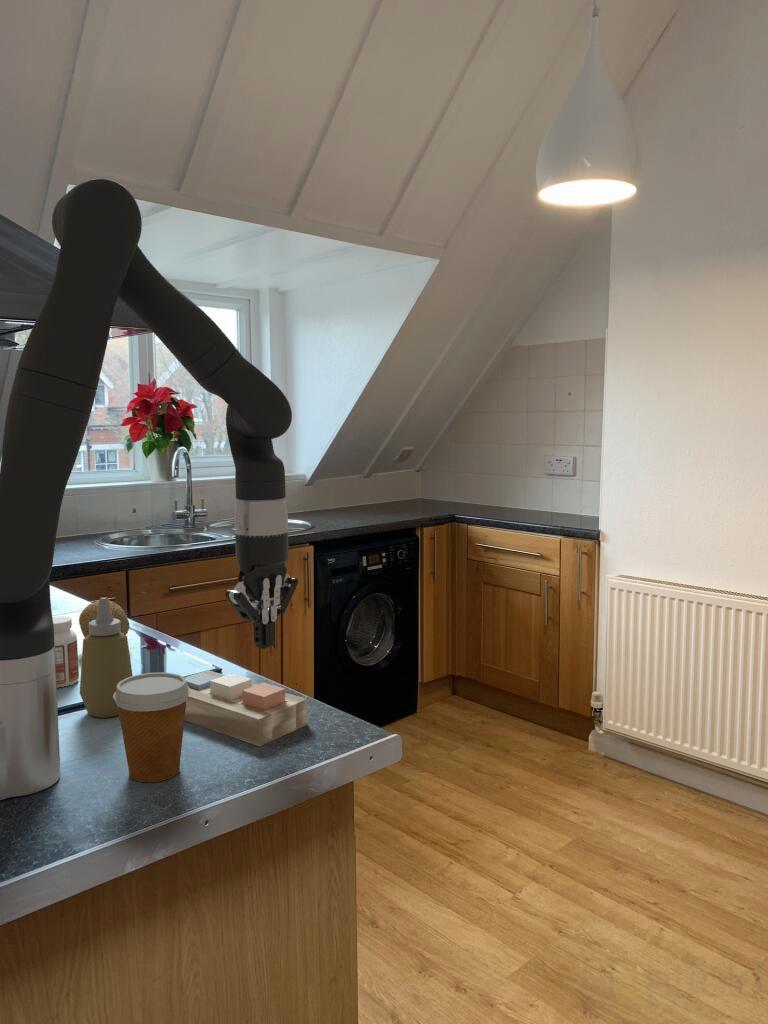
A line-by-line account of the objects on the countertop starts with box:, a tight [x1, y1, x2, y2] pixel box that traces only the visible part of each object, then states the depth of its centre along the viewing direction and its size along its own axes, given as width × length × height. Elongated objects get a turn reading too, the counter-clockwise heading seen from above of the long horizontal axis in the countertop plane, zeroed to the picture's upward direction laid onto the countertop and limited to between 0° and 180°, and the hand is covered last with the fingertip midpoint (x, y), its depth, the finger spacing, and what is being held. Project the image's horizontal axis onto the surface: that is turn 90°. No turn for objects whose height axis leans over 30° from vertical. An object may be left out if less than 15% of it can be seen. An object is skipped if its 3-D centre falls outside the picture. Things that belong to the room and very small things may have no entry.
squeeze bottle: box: [79, 597, 134, 718], centre depth 127 cm, size 8×8×18 cm
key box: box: [184, 669, 308, 747], centre depth 126 cm, size 10×22×4 cm, turn 53°
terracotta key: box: [242, 682, 286, 711], centre depth 122 cm, size 4×4×3 cm
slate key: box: [184, 671, 219, 691], centre depth 130 cm, size 4×4×3 cm
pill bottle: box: [52, 616, 80, 689], centre depth 141 cm, size 6×6×11 cm
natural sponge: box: [78, 599, 130, 638], centre depth 159 cm, size 9×9×10 cm
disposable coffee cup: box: [113, 671, 190, 783], centre depth 107 cm, size 10×10×12 cm
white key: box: [210, 673, 253, 701], centre depth 126 cm, size 4×4×3 cm
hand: (264, 646), depth 121 cm, fingers closed
